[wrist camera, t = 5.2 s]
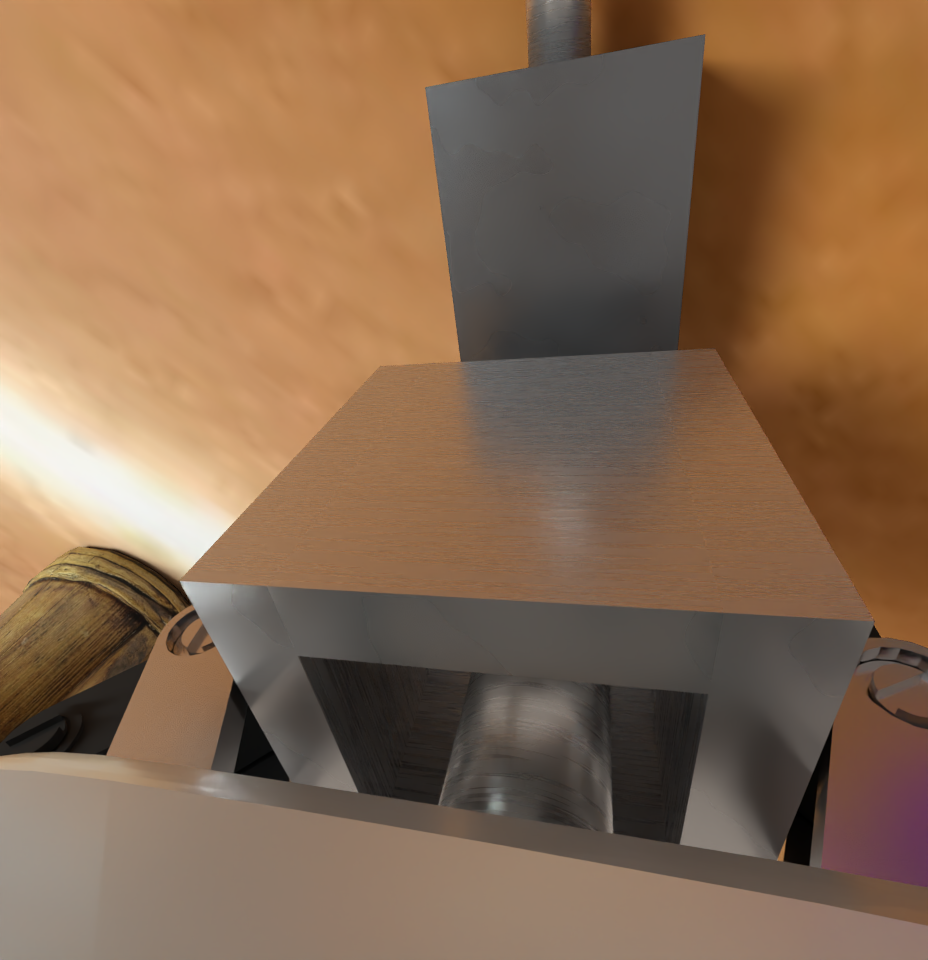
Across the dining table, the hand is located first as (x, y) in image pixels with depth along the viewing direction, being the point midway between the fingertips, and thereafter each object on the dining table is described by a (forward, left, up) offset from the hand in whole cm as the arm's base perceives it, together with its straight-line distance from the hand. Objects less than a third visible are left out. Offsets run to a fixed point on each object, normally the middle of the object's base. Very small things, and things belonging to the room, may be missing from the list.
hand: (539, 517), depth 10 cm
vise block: (-2, 0, -6) cm, 7 cm away
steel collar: (0, 0, -1) cm, 1 cm away
